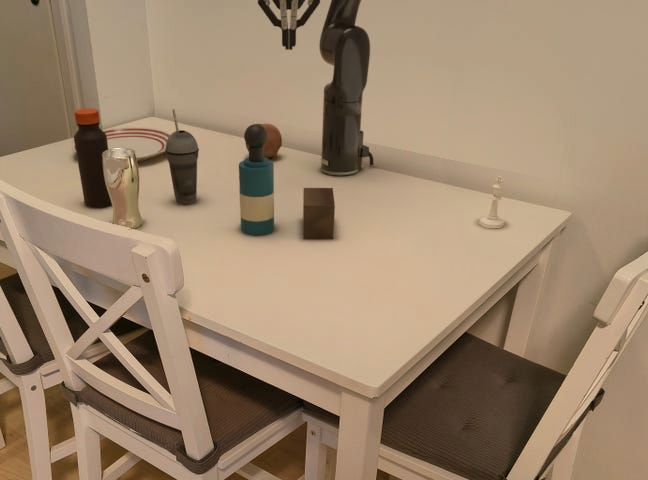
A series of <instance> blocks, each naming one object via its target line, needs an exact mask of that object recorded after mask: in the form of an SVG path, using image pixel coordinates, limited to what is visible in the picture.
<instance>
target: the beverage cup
mask: <svg viewBox="0 0 648 480" xmlns="http://www.w3.org/2000/svg"><path fill="white" fill-rule="evenodd" d="M172 115H173V121H174V125H175V131H173V132H172V133H170V134H171V135H170V136H169V138H168V140H167V142H166V149H165V152H164V153H165V154H166V155H165V156H166V158H167V161H168V166H169V172H170V175H171V183H172V188H173V194H174V198H175V203H176V204H177V205H180V206H188V205H193V204H195V203H196V202H197V194H198V193H197V192H198V191H197V190H198V189H197V187H198V159H199V151H200V149H199V145H198V142H197V139H196V138H195V137H194V135H193V134H192V133H191V132H189V131H186V130H184V129H183V130H182V129H181V130H179V124H178V120H177V114H176V109H175V108H173V109H172Z"/></svg>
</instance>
